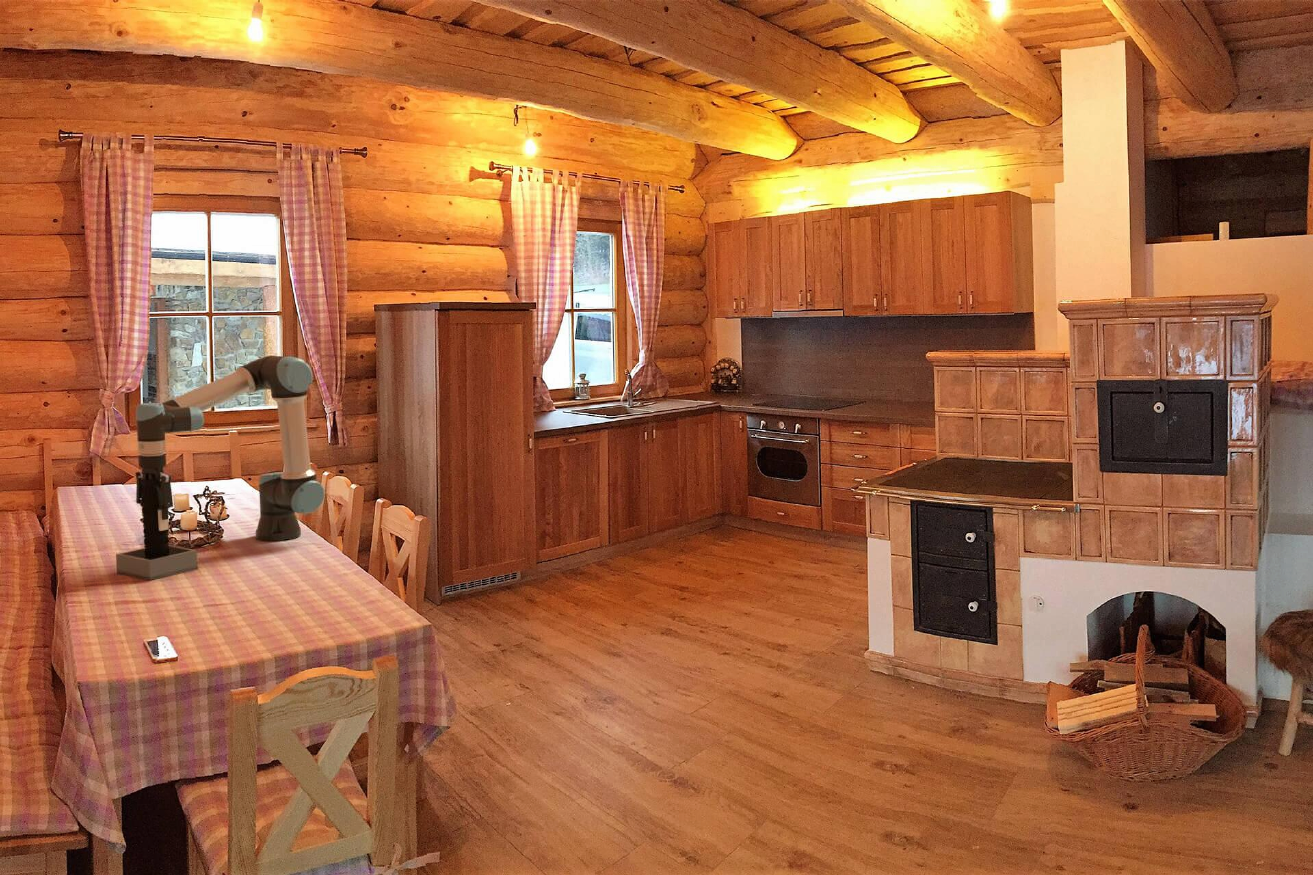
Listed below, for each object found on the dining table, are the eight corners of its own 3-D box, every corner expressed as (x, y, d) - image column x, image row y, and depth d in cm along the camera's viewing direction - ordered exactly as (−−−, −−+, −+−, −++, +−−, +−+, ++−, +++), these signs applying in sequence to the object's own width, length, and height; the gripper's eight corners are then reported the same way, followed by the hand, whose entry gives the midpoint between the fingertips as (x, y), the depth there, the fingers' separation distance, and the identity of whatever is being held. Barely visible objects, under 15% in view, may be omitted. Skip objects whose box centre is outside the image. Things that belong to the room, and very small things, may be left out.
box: (164, 562, 321) (163, 543, 320) (197, 569, 314) (196, 550, 313) (117, 573, 307) (116, 554, 307) (150, 580, 300) (149, 561, 299)
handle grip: (131, 564, 306) (160, 566, 304) (126, 479, 303) (156, 480, 301) (154, 557, 316) (182, 558, 314) (149, 473, 313) (178, 475, 311)
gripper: (120, 453, 307) (124, 526, 310) (161, 458, 298) (165, 534, 301) (142, 450, 314) (146, 522, 317) (184, 455, 304) (187, 530, 307)
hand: (155, 528), depth 309 cm, fingers closed on handle grip, 7 cm apart
